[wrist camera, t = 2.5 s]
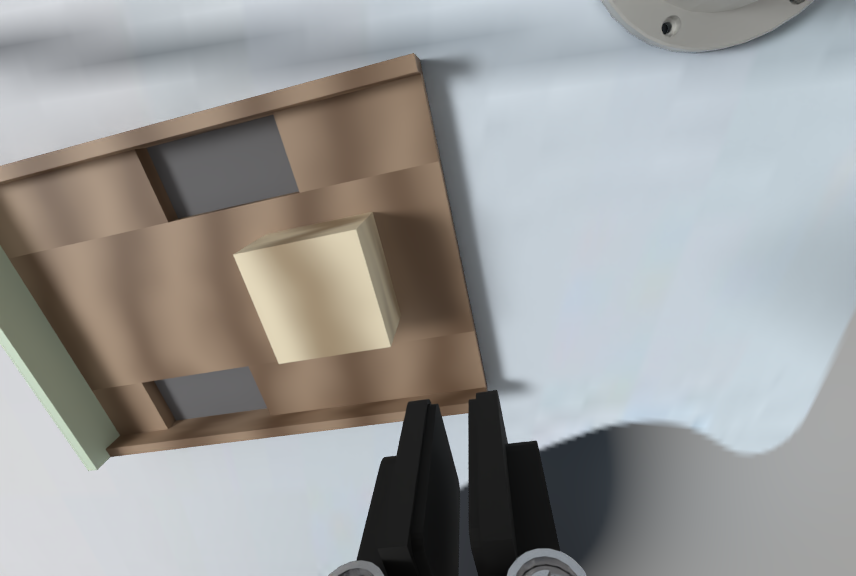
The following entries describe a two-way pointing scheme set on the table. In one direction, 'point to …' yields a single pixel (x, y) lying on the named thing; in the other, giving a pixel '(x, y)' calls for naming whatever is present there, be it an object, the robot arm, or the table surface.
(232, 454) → the table surface
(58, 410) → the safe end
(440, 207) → the box
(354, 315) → the block
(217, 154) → the trap pits
